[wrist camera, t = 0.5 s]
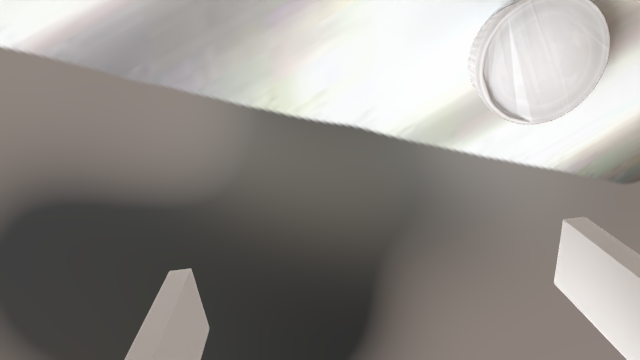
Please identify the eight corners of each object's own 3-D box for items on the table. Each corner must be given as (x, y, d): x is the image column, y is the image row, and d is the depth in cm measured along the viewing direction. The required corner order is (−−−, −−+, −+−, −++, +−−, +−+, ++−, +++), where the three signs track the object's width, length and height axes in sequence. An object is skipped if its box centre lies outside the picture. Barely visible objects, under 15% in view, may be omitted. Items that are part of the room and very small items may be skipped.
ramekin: (433, 70, 38) (453, 78, 33) (515, -35, 35) (550, -43, 30) (511, 132, 41) (540, 148, 36) (594, 41, 38) (637, 45, 33)
